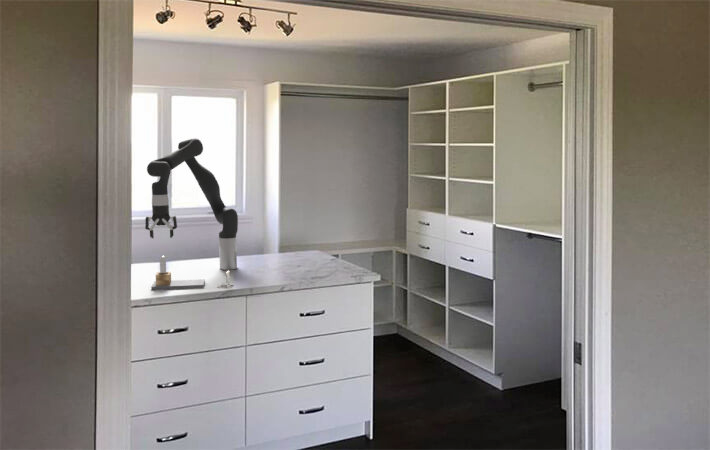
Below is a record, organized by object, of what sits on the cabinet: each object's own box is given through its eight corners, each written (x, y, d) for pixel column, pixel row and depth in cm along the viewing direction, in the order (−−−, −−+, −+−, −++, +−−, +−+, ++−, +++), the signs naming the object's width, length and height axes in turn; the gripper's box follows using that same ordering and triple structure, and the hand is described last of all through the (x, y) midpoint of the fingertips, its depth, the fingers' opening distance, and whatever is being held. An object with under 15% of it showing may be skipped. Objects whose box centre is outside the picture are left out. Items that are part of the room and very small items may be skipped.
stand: (216, 286, 306) (232, 285, 309) (217, 288, 302) (234, 287, 304) (215, 270, 305) (232, 269, 308) (216, 272, 301) (233, 271, 303)
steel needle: (167, 282, 306) (165, 255, 305) (166, 284, 304) (165, 256, 302) (161, 283, 306) (159, 255, 304) (160, 284, 303) (159, 256, 301)
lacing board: (205, 282, 314) (204, 279, 314) (203, 287, 303) (203, 284, 302) (154, 284, 310) (154, 281, 310) (151, 290, 298) (151, 286, 298)
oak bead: (171, 281, 309) (170, 271, 308) (170, 284, 302) (169, 274, 302) (157, 282, 307) (157, 272, 307) (156, 285, 301) (155, 275, 300)
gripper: (176, 202, 304) (178, 236, 307) (145, 203, 302) (147, 237, 304) (175, 204, 297) (176, 238, 299) (143, 205, 295) (145, 239, 297)
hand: (161, 237), depth 302 cm, fingers open, 8 cm apart
